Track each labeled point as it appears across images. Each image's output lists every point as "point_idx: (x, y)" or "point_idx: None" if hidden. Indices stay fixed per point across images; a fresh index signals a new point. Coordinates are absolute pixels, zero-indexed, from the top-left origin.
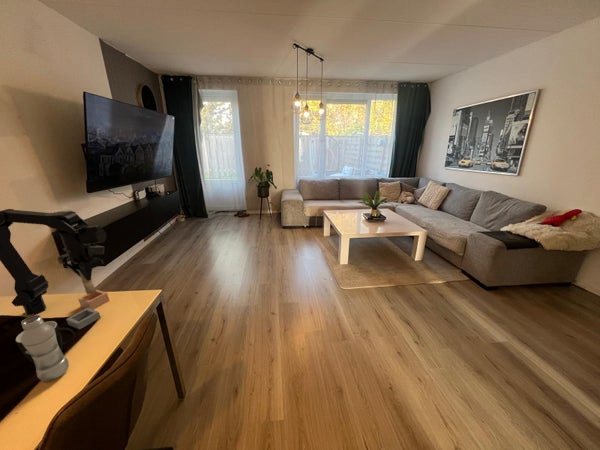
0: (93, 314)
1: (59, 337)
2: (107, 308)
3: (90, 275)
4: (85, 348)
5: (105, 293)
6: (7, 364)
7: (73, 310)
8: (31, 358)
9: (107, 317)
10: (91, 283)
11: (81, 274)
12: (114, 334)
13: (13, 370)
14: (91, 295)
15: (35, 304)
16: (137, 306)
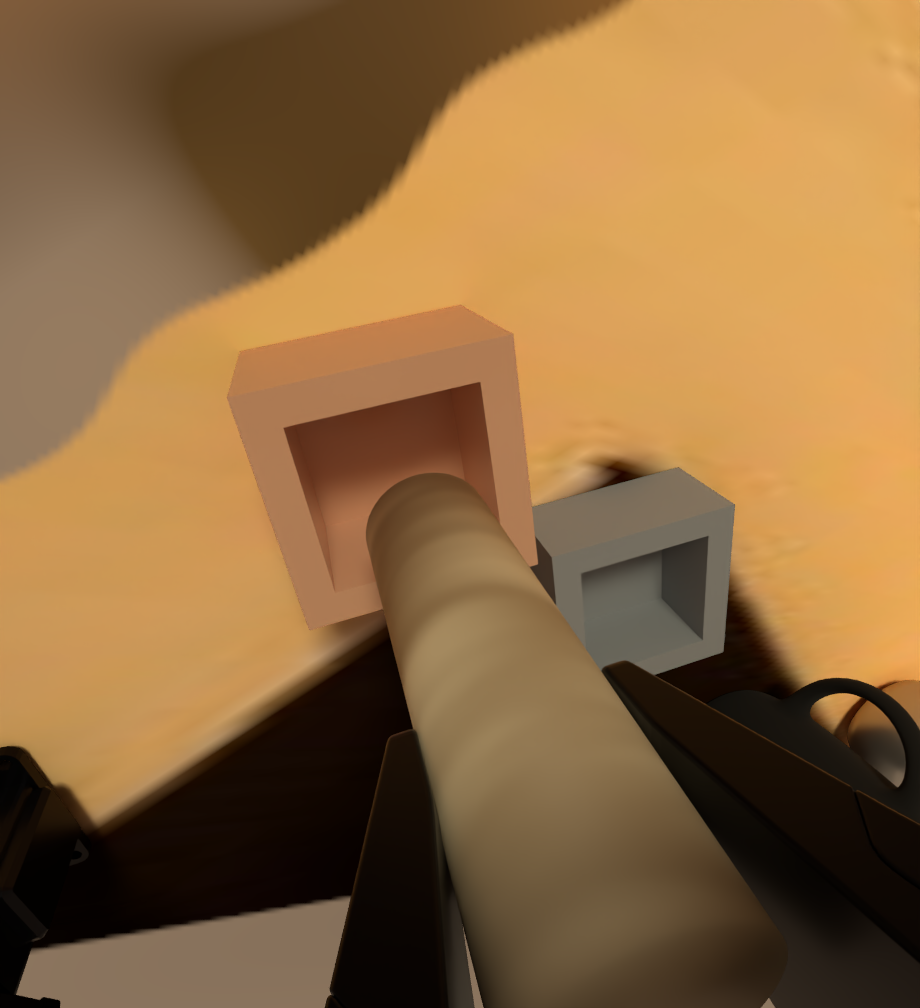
0: (727, 546)
1: (869, 765)
2: (553, 371)
3: (744, 744)
4: (858, 603)
5: (506, 355)
6: None
7: (260, 601)
8: None
9: (702, 424)
10: (551, 599)
11: (792, 1001)
12: None
13: None
14: (303, 482)
15: (13, 933)
16: (835, 143)
